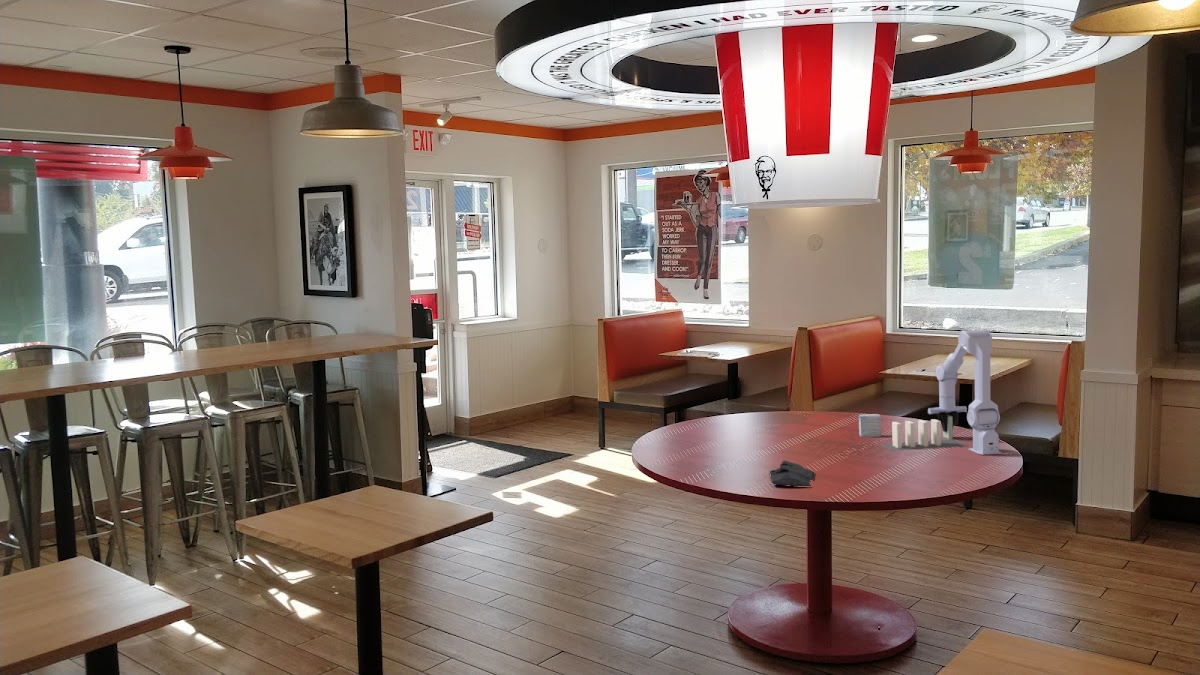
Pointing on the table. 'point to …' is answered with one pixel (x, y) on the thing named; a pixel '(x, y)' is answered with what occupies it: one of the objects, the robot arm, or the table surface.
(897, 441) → the domino
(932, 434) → the domino
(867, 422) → the medicine box
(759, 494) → the table surface
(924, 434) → the domino
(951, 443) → the charcoal mat
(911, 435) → the domino
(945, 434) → the domino
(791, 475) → the dark slate chunk
